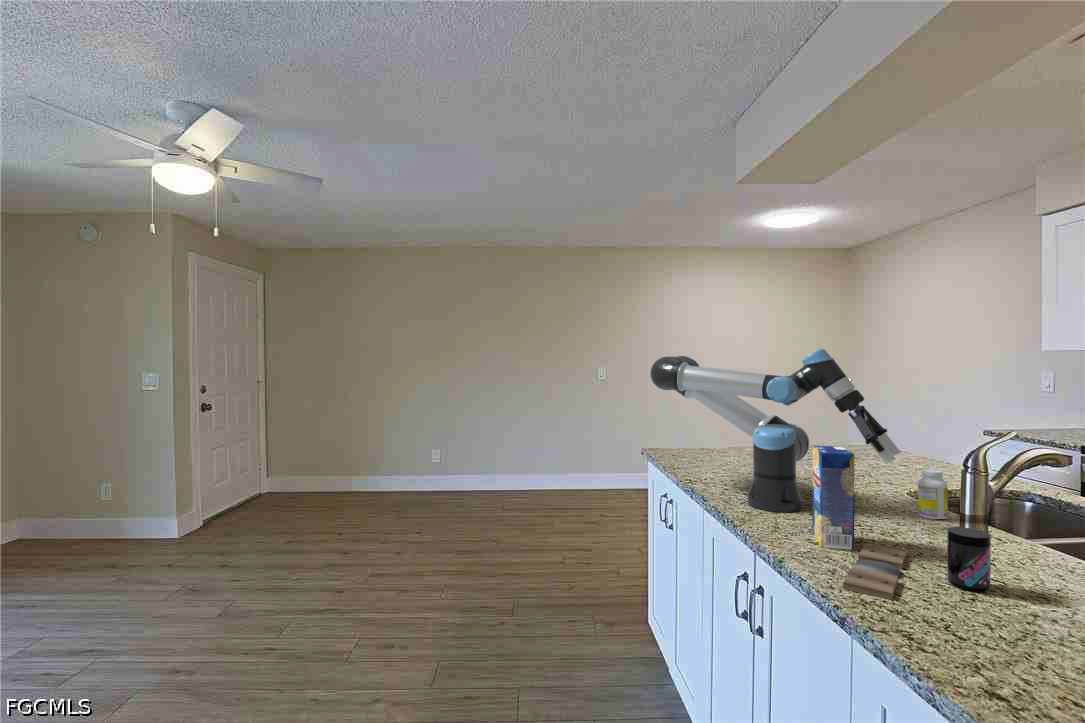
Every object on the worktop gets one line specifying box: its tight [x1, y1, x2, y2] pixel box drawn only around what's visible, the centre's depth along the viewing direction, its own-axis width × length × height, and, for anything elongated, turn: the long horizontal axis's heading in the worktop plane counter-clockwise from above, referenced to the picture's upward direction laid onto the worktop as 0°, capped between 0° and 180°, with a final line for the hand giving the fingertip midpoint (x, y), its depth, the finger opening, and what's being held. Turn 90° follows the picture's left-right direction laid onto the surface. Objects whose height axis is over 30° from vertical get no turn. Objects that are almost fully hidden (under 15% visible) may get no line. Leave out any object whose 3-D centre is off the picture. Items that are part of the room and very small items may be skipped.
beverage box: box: [812, 445, 855, 551], centre depth 134 cm, size 7×11×22 cm, turn 164°
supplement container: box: [946, 526, 992, 593], centre depth 108 cm, size 7×7×10 cm
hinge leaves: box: [842, 542, 907, 601], centre depth 116 cm, size 28×8×1 cm, turn 143°
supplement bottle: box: [917, 468, 949, 520], centre depth 153 cm, size 7×7×13 cm
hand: (893, 457), depth 159 cm, fingers open, 13 cm apart
